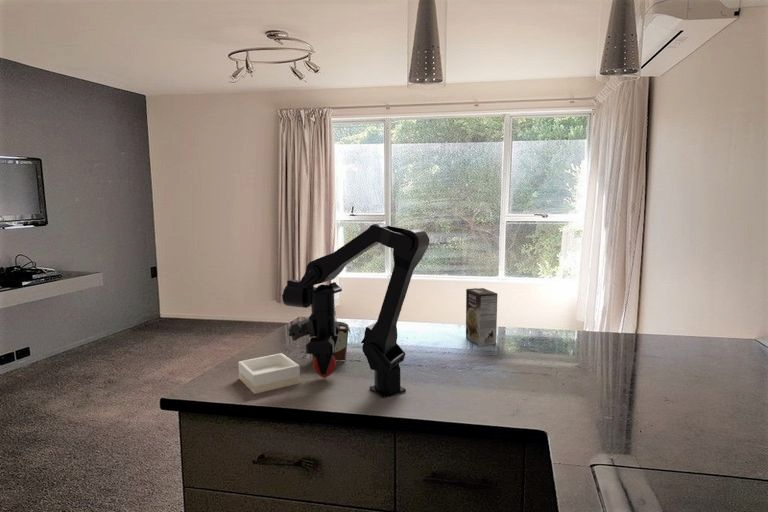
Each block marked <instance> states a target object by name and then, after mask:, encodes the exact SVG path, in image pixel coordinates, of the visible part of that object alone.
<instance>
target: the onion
mask: <svg viewBox="0 0 768 512" xmlns="http://www.w3.org/2000/svg"><path fill="white" fill-rule="evenodd" d="M312 368H313V370H314V372H315V373H317V374H318V375H319V376H320V377H321V378H323V379H326V378H328V377H329V376H330V375H332V374H333V373H334V372H335V370H336V368H337V361H336V360H335V357H334V356H333V355H332V357H331V360H330V363H329V366H328V369H327V372H326V374H325V375H321V373H320V369H319V366H318V362H317V359H316V357H315V358H314V360H313V359H312Z"/></svg>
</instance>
